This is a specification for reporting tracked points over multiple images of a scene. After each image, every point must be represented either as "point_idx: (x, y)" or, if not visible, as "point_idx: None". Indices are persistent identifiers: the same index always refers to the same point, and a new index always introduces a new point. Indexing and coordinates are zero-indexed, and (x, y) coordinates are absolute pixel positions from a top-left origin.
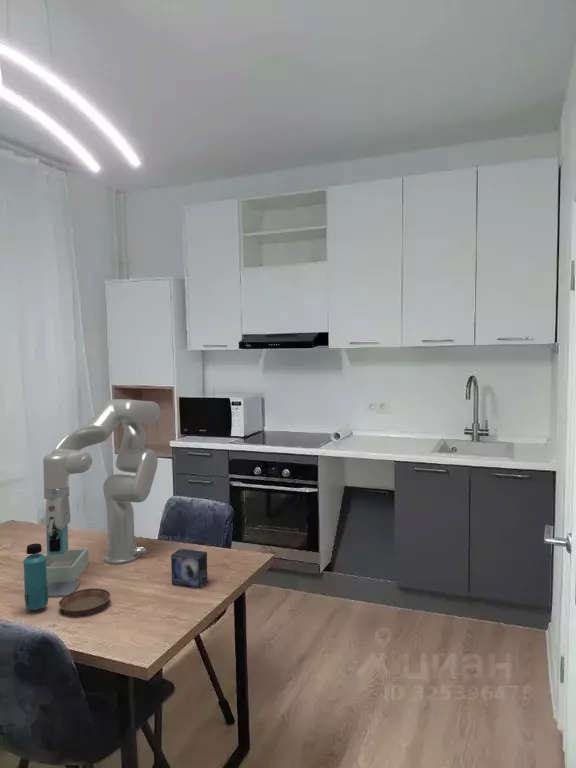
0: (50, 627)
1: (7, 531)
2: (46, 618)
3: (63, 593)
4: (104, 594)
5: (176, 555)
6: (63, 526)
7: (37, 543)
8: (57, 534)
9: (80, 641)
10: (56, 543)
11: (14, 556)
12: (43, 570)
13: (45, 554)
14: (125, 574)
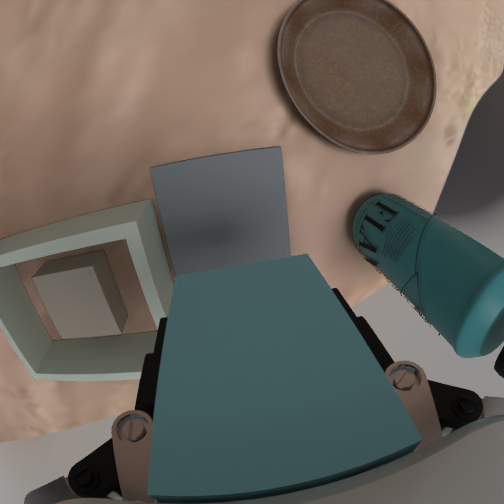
0: (456, 138)
1: (7, 440)
2: (421, 166)
3: (270, 183)
4: (302, 11)
5: None
6: (467, 465)
7: None
8: (433, 404)
9: (490, 61)
10: (381, 345)
11: (59, 419)
12: (482, 245)
13: (64, 378)
14: (61, 41)
